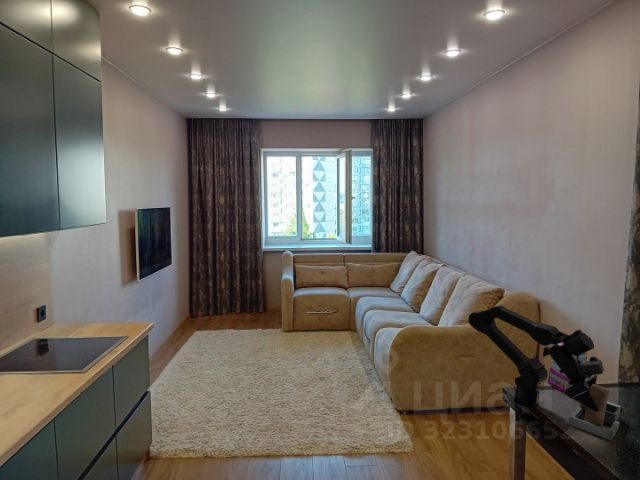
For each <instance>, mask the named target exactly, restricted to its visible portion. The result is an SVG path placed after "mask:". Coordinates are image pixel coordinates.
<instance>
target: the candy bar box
mask: <svg viewBox="0 0 640 480" xmlns="http://www.w3.org/2000/svg"><path fill="white" fill-rule="evenodd" d="M562 344H564V343H563V342H561V343H559V344H558V345H562ZM553 345H554V344H552V346H553ZM573 356H574V355H573ZM587 357H588V352H586V353H584V354H582V355H580V356H574V358H575V359H578V360H580V361H581V362H582V363H583V362H587V361H588V360H587ZM547 379H548V380H547V384H548V385H549V386H551V387H553V388H555V389H556V390H558V391H560V392H562V393H564V394H566V389H567V387H568V386H569V383H568V381H569V380H568V378H567V377H566V376H565V375H564V373H562V374H561V373H560V368H559V367H558V365H557V364H556V363H555V361H554V360H553V359H552V357H551V359H550V364H549V373H548V377H547Z"/></svg>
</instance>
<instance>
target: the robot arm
mask: <svg viewBox="0 0 640 480" xmlns="http://www.w3.org/2000/svg"><path fill="white" fill-rule="evenodd" d="M496 319H498V320H501V321H503V322H505V323H507V324H509V325H511V326H513V327H515V328H516V329H518V330H520V331H522V332H525V333H526V334H528V335H529V336H530V338H531V339H532V340H533V341H535V342H536V343H537V344H539V345H541V346H544V348H543V351H542V357H543V358H544V357H547V356H550V357H551V358H552V359H553V360H554V361H555V363H556V364H557V365H558V367H559V368H560V373H561V374H562V373H564V375H565V376H566V377H567V378H568V380H569V381H568V383H569V386H568V387H567V389H566V393H565V394H566V395H567V397H568V398H569V399H572V400H575V401H577V402H578V403H580V404H581V403H582V404H584V405H585V406H587V407H589V408H590V409H592V410H593V411H595V412H598V411H599V409H598V407H597V405H596V403H595V402H594V400H593V398H592V396H591V395H590V390H591V386H592V385H593V384H595V385H598V384H597V382H598V378H599V377H598V375H599V376H600V375H603V374H604V371H605V368H604V366H603V361H602V360H601V359H598V357H597V356H595V355H593V356H590V357H589V360H586V362H583V363H582V362H581V361H580V360H578V359H575V358H574V356H580V355H582V354H584V353H588V352H589V351H592V350H593V349H595V344H594V342H593V340H592V338H591V337H590V336H589V335H587V334H586V333H584V332H583V331H582V329H577V330H575V331H574V332H572V333H571V334H570V335H569V334H567V333H565V332H562V331H561V330H559V329H558V328H557V326H554V325H550V324H547V323H543V322H538V321H537V322H536V321H535V320H532V319H530V318H528V317H526V316H523V315H521V314H519V313H517V312H515V311H513V310H510V309H508V308H506V307H505V306H504V305H501V304H500V305H496V306H493V307H491V308H490V309H486V310H483V309H482V310H479V311H474V312H471V313H470V314H469V316H468V324H469V325H470V327H472V328H473V329H474V330H476V331H477V332H479V333H481V334H483V335H484V336H487V337H488V338H489V339H490V340H491V342H492V343H493V344H494V345H495V346H496V347H498V349H499V350H500V351H501V352H502V353H503V354H504V355H505V356H506V357H507V358H508V359H509V360H510V361H511V362H512V363H513V364H514V365H515V366H516V369H517V372H518V374H519V376H517V377H515V378H514V384H515V386H516V389H515V395H514V396H515V397H514V398H513V399H512V401H513V402H516V403H519V404H521V405H523V406H526V407H528V408H533V407H534V406H536V405H537V404H539V398H540V390H539V387H540V386H539V385H541V384H542V383H543V382H544V381H546V380H547V379H548V377H549V373H548V370H547V369H546V365H545V364H544V363H542V362H541V361H540V360H539V358H537V357H536V356H535V357H532V358H530V357H529V356H527V355H526V354H525V353H523V351H522V350H520V348H519V347H518V346H516V344H515V343H514V342H513V341H512V340H511V339H510V338H509V337H508V336H507V335H505V334H504V332H503V331H501V330H500V328H498V326H497V324H496V321H495V320H496ZM559 343H564V344H562V345H558V344H559ZM553 344H554V345H553ZM550 345H552V346H550ZM549 346H550V347H549ZM573 355H574V356H573Z"/></svg>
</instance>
